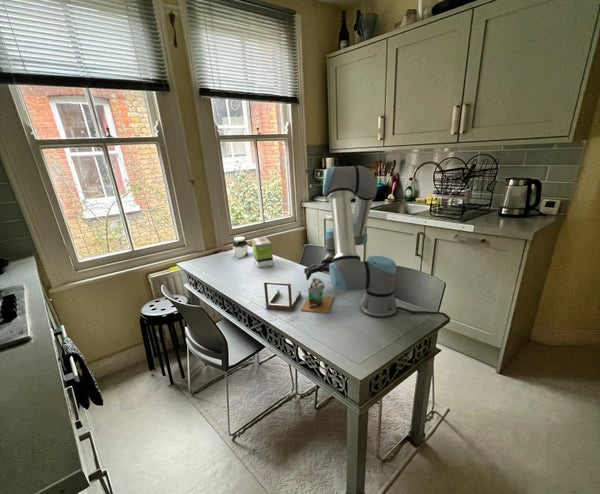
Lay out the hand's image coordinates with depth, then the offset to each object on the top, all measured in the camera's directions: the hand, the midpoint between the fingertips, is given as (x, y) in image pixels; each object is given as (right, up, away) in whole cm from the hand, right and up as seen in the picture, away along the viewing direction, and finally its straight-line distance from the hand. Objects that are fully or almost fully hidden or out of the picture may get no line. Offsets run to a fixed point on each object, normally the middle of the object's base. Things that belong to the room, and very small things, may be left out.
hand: (321, 278), depth 148 cm
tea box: (-33, +11, +52) cm, 63 cm away
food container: (-2, -12, -3) cm, 12 cm away
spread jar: (-50, +18, +68) cm, 86 cm away
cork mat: (-2, -12, -3) cm, 13 cm away
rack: (-17, -11, +1) cm, 20 cm away
